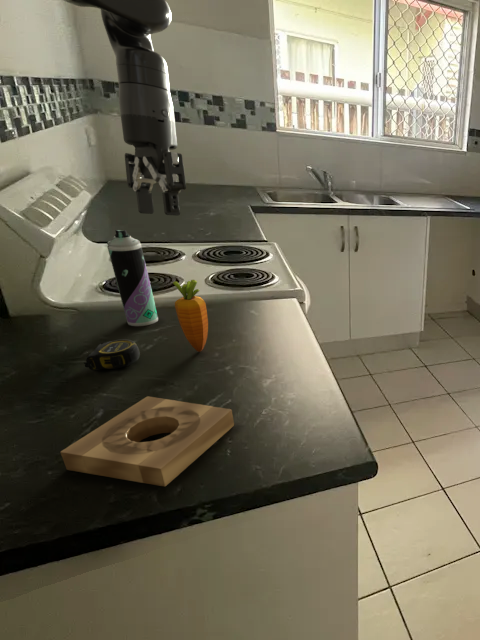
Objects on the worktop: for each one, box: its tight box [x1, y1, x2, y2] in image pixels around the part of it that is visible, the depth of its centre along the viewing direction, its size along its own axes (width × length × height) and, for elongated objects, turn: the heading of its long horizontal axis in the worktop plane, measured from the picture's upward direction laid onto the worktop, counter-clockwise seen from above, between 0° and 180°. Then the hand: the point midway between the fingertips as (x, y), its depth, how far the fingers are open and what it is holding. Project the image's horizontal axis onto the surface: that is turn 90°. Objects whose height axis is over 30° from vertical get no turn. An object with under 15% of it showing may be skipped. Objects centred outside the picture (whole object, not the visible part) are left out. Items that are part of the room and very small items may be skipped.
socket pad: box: [60, 395, 235, 487], centre depth 68 cm, size 14×14×3 cm
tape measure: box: [83, 339, 141, 371], centre depth 86 cm, size 7×7×4 cm
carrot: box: [172, 279, 209, 353], centre depth 91 cm, size 5×5×15 cm
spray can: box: [106, 229, 159, 327], centre depth 99 cm, size 6×6×20 cm
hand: (159, 214), depth 85 cm, fingers open, 8 cm apart
